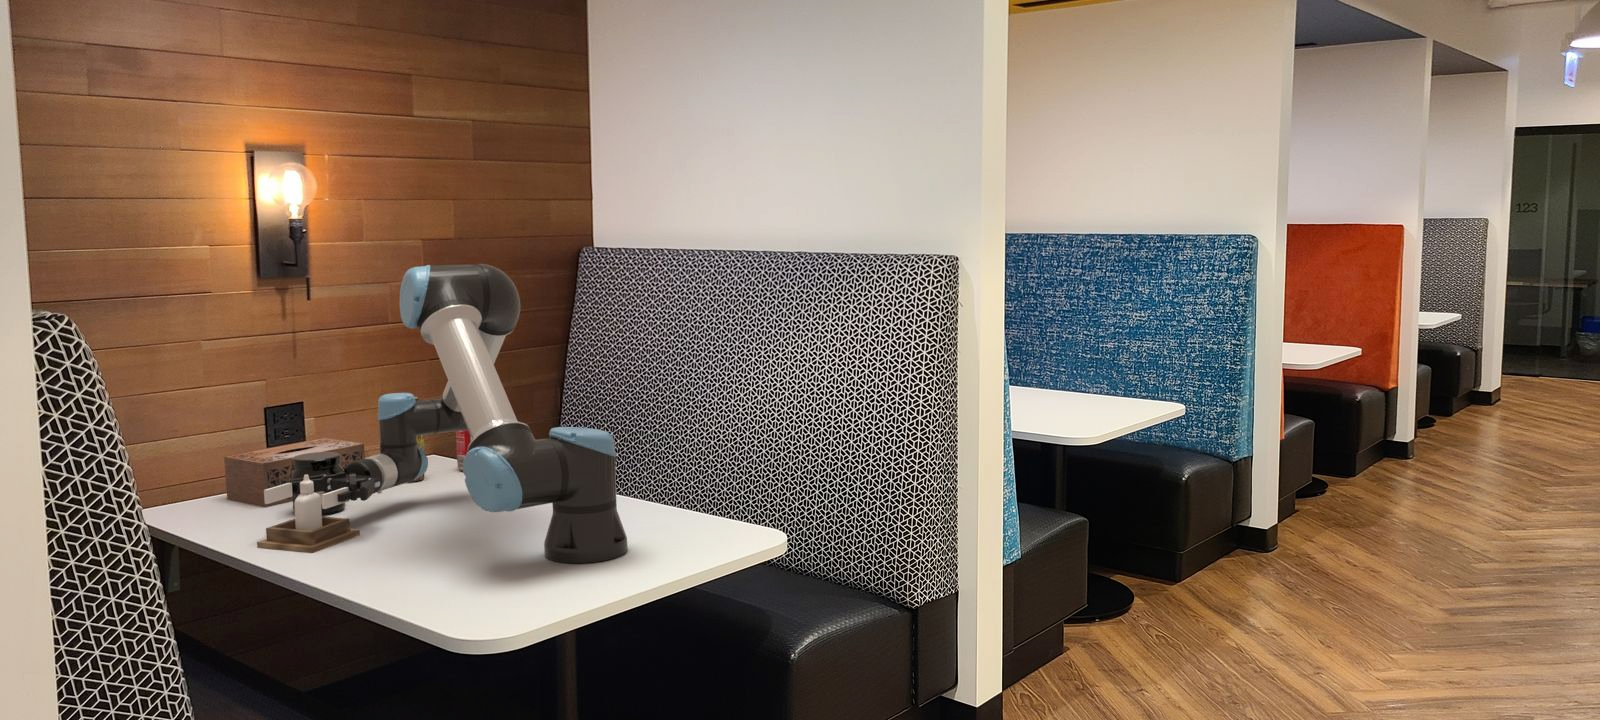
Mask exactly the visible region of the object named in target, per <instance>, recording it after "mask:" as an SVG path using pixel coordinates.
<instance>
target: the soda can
mask: <svg viewBox="0 0 1600 720" xmlns="http://www.w3.org/2000/svg"><path fill="white" fill-rule="evenodd" d="M471 441H472V438H471V436H470V433H469V431H468V429H467V430H465V431H455V443H456V444H455V445H456V447H455V448H456V464H457V468H458V469H459V470H461V472H463V462H464V458H465V456H466V454H467V452H468V446H469V444H470V442H471Z"/></svg>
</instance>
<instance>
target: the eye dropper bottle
mask: <svg viewBox="0 0 1600 720" xmlns="http://www.w3.org/2000/svg"><path fill="white" fill-rule="evenodd" d="M300 493H301V494H300V495H299V496H298V497H297V498H296V500H295V503H294V505H295V512H294V519H295V525H296V529H297V530H308V531H311V530H314V529H317V528H320V527H322V516H323V515H322V511H321V498H320V495H319V494H317V493H314V484H313V481H311V480H309V476H308V475H304V480H303V481H302V482H300Z"/></svg>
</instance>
